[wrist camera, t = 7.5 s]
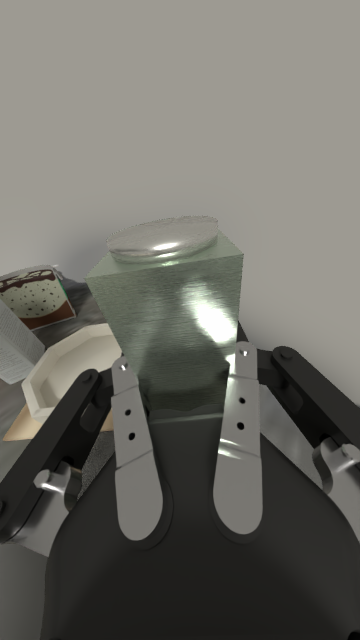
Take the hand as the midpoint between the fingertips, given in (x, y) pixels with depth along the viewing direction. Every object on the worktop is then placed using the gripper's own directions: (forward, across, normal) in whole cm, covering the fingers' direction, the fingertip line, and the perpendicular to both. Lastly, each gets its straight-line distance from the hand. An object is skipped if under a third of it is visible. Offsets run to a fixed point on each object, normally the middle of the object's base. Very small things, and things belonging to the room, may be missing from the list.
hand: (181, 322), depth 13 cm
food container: (+20, +28, +10) cm, 36 cm away
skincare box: (+7, +25, +10) cm, 28 cm away
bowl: (+4, +13, +10) cm, 17 cm away
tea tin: (-3, 0, +10) cm, 10 cm away
